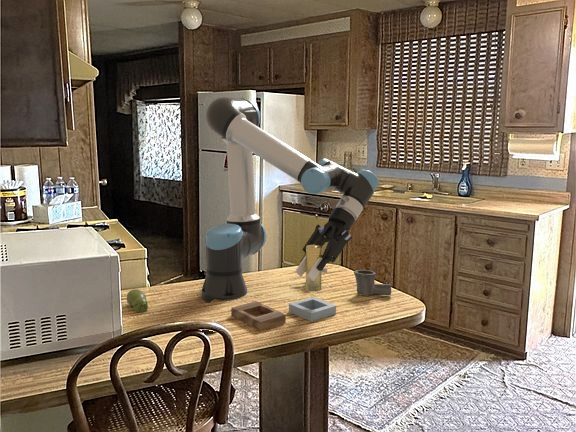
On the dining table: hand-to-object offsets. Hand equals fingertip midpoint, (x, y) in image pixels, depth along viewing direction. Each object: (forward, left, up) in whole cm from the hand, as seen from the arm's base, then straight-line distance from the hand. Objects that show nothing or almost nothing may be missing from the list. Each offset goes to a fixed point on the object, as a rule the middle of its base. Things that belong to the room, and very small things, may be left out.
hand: (304, 276), depth 157 cm
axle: (+2, +3, -5) cm, 6 cm away
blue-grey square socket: (+1, +3, -14) cm, 14 cm away
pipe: (+12, +32, -14) cm, 36 cm away
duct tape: (-19, -22, -14) cm, 32 cm away
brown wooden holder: (-11, -9, -14) cm, 19 cm away
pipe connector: (-11, +33, -14) cm, 38 cm away
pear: (-50, -14, -14) cm, 53 cm away
